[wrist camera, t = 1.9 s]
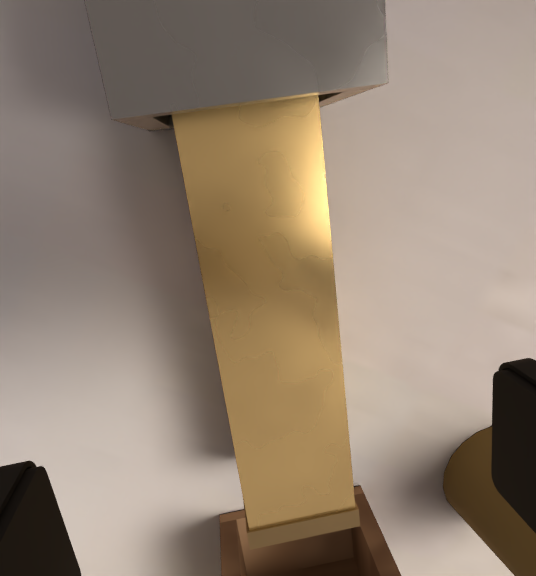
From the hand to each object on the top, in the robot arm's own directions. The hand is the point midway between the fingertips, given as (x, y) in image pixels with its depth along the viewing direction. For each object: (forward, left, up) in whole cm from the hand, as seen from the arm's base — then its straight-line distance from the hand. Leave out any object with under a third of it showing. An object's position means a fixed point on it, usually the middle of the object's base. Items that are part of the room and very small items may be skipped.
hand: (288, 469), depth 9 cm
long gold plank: (-1, -4, -10) cm, 11 cm away
